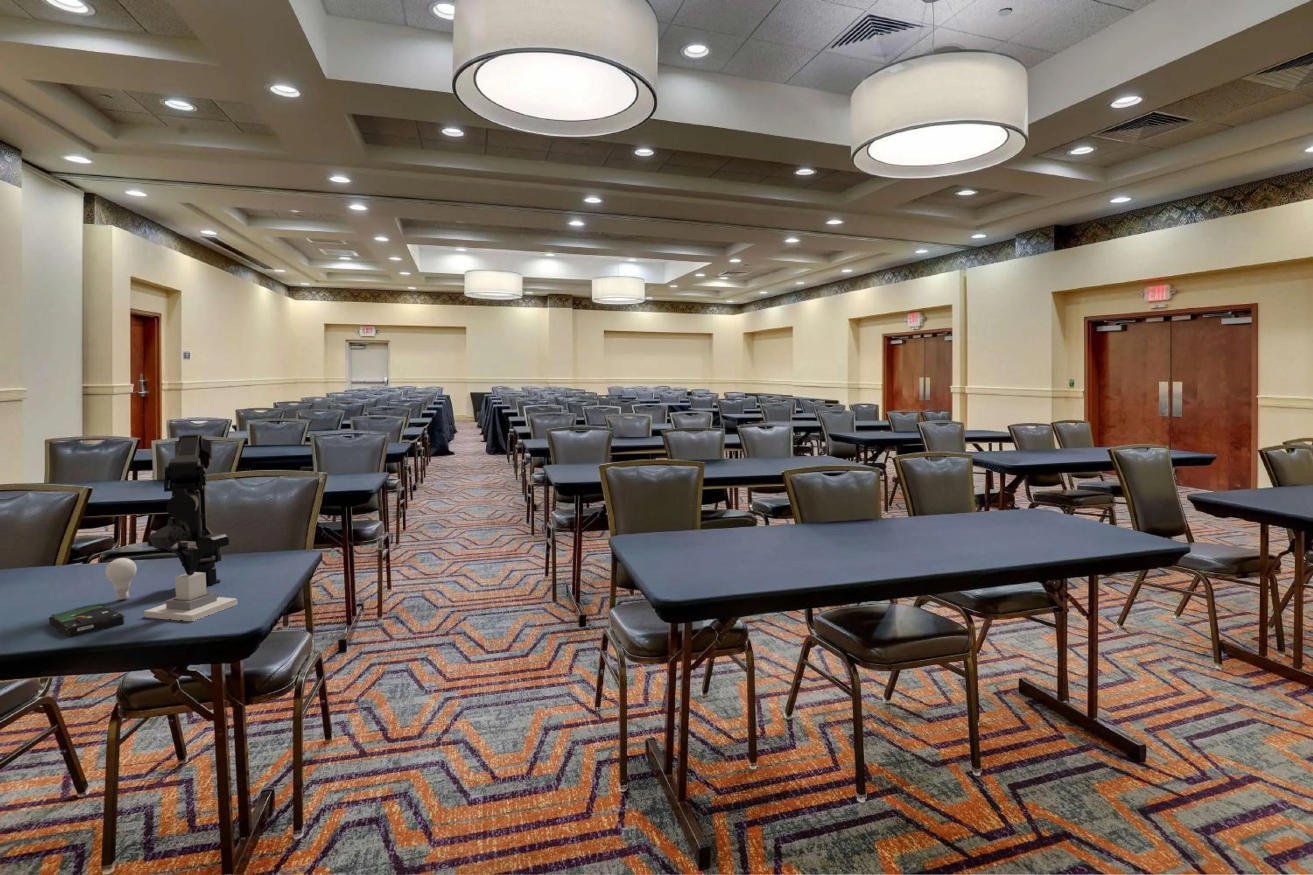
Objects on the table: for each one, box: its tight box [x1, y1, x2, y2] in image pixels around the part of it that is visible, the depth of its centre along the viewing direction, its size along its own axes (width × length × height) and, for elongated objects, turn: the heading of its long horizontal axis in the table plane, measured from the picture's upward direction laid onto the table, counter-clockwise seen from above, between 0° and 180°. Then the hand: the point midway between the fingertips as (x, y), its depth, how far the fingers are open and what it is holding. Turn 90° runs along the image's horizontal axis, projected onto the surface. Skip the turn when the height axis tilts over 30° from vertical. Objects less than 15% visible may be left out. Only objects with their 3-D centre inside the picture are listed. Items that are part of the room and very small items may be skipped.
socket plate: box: [143, 591, 238, 622], centre depth 169 cm, size 14×13×4 cm
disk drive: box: [48, 603, 125, 638], centre depth 160 cm, size 10×3×15 cm
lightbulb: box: [105, 557, 138, 601], centre depth 177 cm, size 6×6×11 cm
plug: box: [174, 572, 208, 601], centre depth 169 cm, size 4×5×8 cm
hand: (190, 574), depth 169 cm, fingers closed
